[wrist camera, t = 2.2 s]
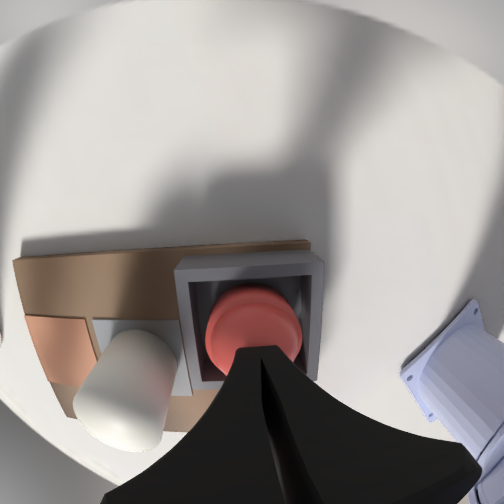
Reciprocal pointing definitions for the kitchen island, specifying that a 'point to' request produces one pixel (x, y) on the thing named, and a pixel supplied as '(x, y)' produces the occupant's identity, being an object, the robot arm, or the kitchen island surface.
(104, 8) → the kitchen island surface
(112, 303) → the game board
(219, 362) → the pop dome
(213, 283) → the pop dome base
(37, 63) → the kitchen island surface
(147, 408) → the ivory pawn
